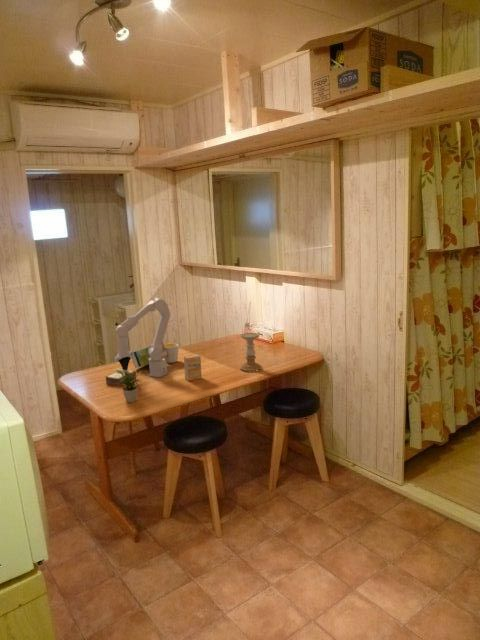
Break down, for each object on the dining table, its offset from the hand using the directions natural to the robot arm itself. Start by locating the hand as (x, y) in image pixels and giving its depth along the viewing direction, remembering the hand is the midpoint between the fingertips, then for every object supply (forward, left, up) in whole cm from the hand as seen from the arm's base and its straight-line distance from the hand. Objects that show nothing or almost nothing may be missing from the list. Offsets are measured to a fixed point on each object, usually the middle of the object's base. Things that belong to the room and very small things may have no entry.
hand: (125, 370), depth 265 cm
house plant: (-21, +24, -5) cm, 33 cm away
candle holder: (-59, -39, -5) cm, 71 cm away
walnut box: (0, +4, -5) cm, 6 cm away
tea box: (+7, -22, 0) cm, 23 cm away
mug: (-6, -35, -5) cm, 36 cm away
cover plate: (0, +4, -1) cm, 4 cm away
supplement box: (-36, -13, -5) cm, 39 cm away
